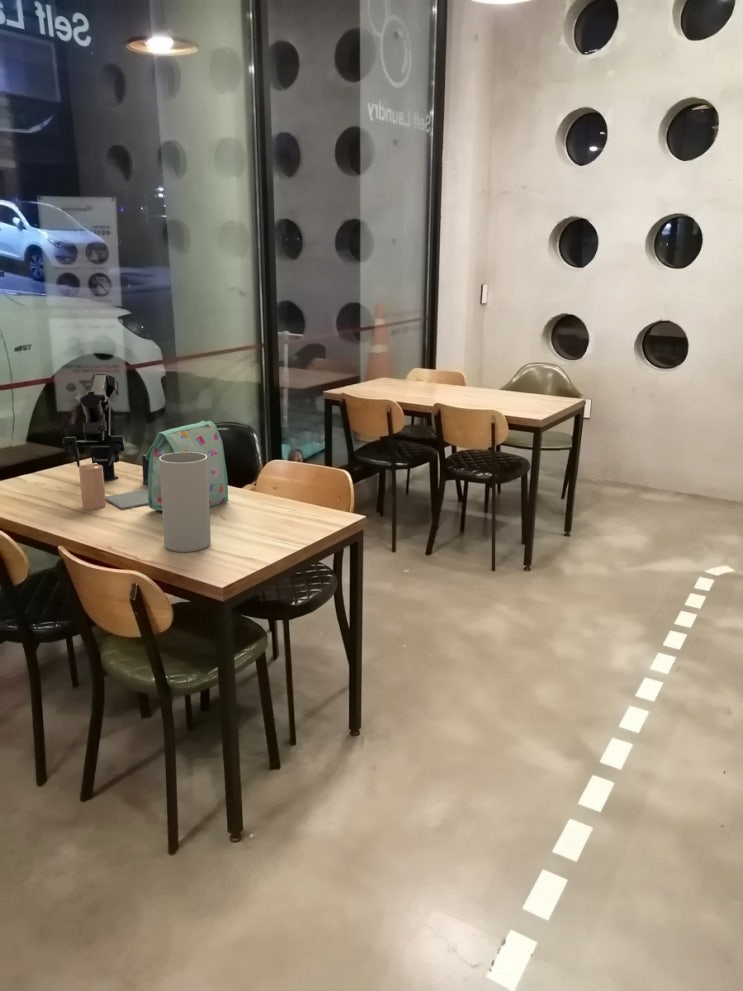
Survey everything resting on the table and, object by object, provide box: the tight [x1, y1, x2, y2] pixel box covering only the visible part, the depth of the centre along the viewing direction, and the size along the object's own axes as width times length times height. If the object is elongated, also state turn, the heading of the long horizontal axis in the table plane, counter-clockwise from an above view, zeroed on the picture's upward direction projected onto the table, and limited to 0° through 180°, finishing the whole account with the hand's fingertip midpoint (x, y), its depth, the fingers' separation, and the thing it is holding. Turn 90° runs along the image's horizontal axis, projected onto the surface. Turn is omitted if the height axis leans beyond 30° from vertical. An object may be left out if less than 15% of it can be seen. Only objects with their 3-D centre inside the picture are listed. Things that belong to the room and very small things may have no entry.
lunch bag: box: [146, 420, 229, 511], centre depth 243 cm, size 23×16×27 cm
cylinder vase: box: [159, 452, 212, 553], centre depth 209 cm, size 12×12×25 cm
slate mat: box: [105, 488, 149, 511], centre depth 252 cm, size 15×15×1 cm
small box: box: [141, 452, 149, 485], centre depth 273 cm, size 11×6×10 cm, turn 171°
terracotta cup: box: [78, 463, 107, 510], centre depth 243 cm, size 7×7×13 cm
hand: (93, 466), depth 247 cm, fingers open, 9 cm apart
